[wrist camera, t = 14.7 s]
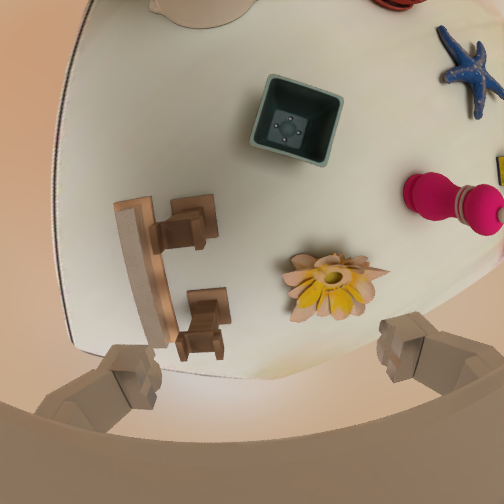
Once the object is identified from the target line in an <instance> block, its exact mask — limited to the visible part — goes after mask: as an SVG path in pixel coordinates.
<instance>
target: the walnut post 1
mask: <svg viewBox="0 0 504 504" xmlns="http://www.w3.org/2000/svg"><path fill="white" fill-rule="evenodd" d="M170 201H171V208H172V215H173V216H172V217H170V218H169V219H168V220H166V221H163V222H156V223H154V224H152V225H151V226H149V227H148V230H149V235H150V240H151V246H152V251H153V255H158V254H161V253H162V252H163V251H164V250H165V249H172V248H181V247H190V246H195V250H203V248H204V246H205V244H206V239H207V238H216V237H218V236H219V235H218V228H217V220H216V213H215V205H214V197H213V194H210V195H202V196H195V197H188V198H181V199H174V200H170Z"/></svg>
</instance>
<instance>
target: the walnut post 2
mask: <svg viewBox="0 0 504 504" xmlns="http://www.w3.org/2000/svg"><path fill="white" fill-rule="evenodd" d="M187 297H188V301H189V306H190V310H191V315H192V320H191V323H190V327H189V330H188V331H184V332H179V333H178V336H177V338H176V341H175V344H176V347H177V351H178V354H179V357H180V361H187V359H188V355H189V353H199V352H215V355H216V359H217V360H223V356H224V344H223V339H222V334H221V329H218V327H219V325H220V324H231V316H230V310H229V303H228V297H227V290H226V287H223V288H213V289H201V290H190V291H187Z"/></svg>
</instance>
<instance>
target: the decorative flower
mask: <svg viewBox="0 0 504 504" xmlns="http://www.w3.org/2000/svg"><path fill="white" fill-rule="evenodd" d="M350 259H351V257H350V258H347V259H346V260H344V255H343V253H341V254H340V255H339V257H338V256H337V254H336V253H335V252H334V254H333V255H329V256H328V255H327V256H326V257H323V258H317V259H315V258H314V257H312V256H310V255H306V254H300V255H296V256H295V257H294V258H292V260H291V262H292V263H293V265H294V266H295V267H296V269H297V270H295V271H291V272H288V273H284V274H283V279H284V282H285V283H286V284H288V285H289V286H295V288H294V289H293V290H291V291H290V292H288V295H289V296H290V297H292V298H296V299H297V298H299V299H298V300H297V302H296V303H297V305H296V307H295V309H294V311H293V313H292V315H291V317H290V321H292V322H298V323H299V322H303V321H306V320H307V319H309V318H310V317H311V316H313V315H314V313H315V312H316V311H317V316H321V317H324V316H328V315H329V314H332V316H333V318H334V319H335V320H343V319H345V318H347V317H348V316H349V315H350V314H352V315H355V316H359V315H361V314H363V313H364V311H365V304H367V303H369V302H370V301H371V300H373V298H374V296H375V289H374V286H373V284H372V283H371V282H370V281H371V280H374V279H376V278H378V277H380V276H382V275H385V274H387V273H389V272H390V271H386V270H382V269H378V268H373V267H369V262H366V260H367V257H365V256H358V257H355V258H353V259H351V260H350Z"/></svg>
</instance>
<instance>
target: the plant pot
mask: <svg viewBox="0 0 504 504" xmlns="http://www.w3.org/2000/svg"><path fill="white" fill-rule="evenodd" d="M375 1H376V2H378V3H379V4H381V5H383V6H385V7H388V8H390V9H394V10H408V9H410V8H411V7H412V6H413V4H417V3H421V2H424V1H426V0H375Z"/></svg>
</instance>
